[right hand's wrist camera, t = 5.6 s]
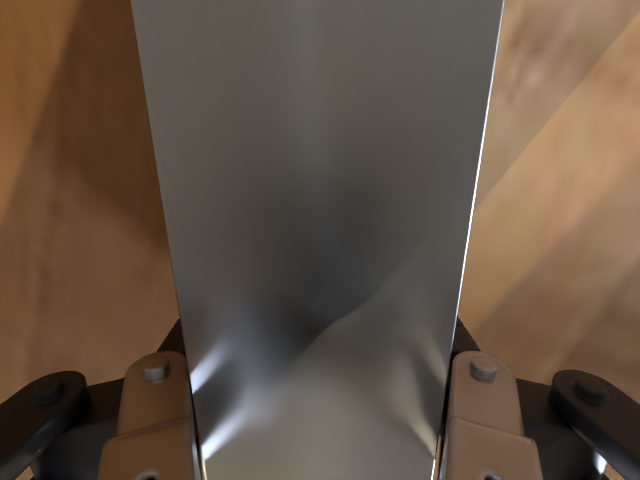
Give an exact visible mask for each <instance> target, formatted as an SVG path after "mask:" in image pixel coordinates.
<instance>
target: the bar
mask: <svg viewBox="0 0 640 480" xmlns="http://www.w3.org/2000/svg"><path fill="white" fill-rule="evenodd" d="M504 1H505V0H130V4H131V10H132V16H133V23H134V29H135V36H136V42H137V48H138V55H139V61H140V67H141V74H142V80H143V86H144V93H145V99H146V105H147V112H148V118H149V124H150V131H151V137H152V143H153V150H154V156H155V162H156V169H157V175H158V181H159V188H160V194H161V200H162V207H163V213H164V219H165V226H166V232H167V239H168V245H169V251H170V258H171V264H172V270H173V277H174V283H175V289H176V296H177V302H178V308H179V315H180V321H181V327H182V334H183V340H184V346H185V353H186V359H187V365H188V372H189V378H190V384H191V391H192V397H193V403H194V410H195V416H196V422H197V429H198V435H199V442H200V448H201V454H202V461H203V467H204V473H205V480H432V477H433V471H434V464H435V458H436V451H437V444H438V438H439V431H440V424H441V418H442V411H443V405H444V398H445V391H446V385H447V378H448V372H449V365H450V358H451V352H452V345H453V338H454V332H455V325H456V319H457V312H458V305H459V299H460V292H461V285H462V279H463V272H464V266H465V259H466V252H467V246H468V239H469V232H470V226H471V219H472V213H473V206H474V199H475V193H476V186H477V179H478V173H479V166H480V160H481V153H482V146H483V140H484V133H485V126H486V120H487V113H488V107H489V100H490V93H491V87H492V80H493V73H494V67H495V60H496V54H497V47H498V40H499V34H500V27H501V20H502V14H503V7H504Z"/></svg>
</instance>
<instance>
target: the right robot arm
mask: <svg viewBox="0 0 640 480" xmlns="http://www.w3.org/2000/svg"><path fill="white" fill-rule="evenodd" d="M439 433H440V436H441V441H440V448H439V458H438V468H437V478H436V480H610V479H609V478H608V477H607V476H606V475H605V474H604V473H603V472H604V469H605V467H606V464H607V463H609V464H610V465H611V466H612V467H613V468H614V469H615V470H616V471H617V472H618V473H619V474H620V475H621V476H622V477H623V478H624V479H625V480H640V405H639V404H638V403H637V402H635V401H634V400H633V399H631V398H630V397H629V396H627V395H626V394H625V393H623V392H622V391H621V390H619V389H618V388H617V387H615V386H614V385H612V384H611V383H609V382H607V381H606V380H604V379H602V378H600V377H598V376H595V375H593V374H590V373H586V372H582V371H577V370H562V371H559V372H557V373H556V374H555V375H554V377H553V380H552V384H551V386H549V385H544V384H540V383H535V382H531V381H526V380H522V379H518V378H516V377H515V374H514V372H513V370H512V369H511V367H510V366H509V365H508V364H507V363H505V362H504V361H503V360H501V359H499V358H498V357H495V356H493V355H491V354H488V353H484V352H481V351H480V349H479V348H478V346H477V345H476V343H475V342H474V340H473V339H472V337H471V336H470V334H469V333H468V331H467V330H466V328H465V327H463V323H462V322H461V320H460V319H458V316H457V319H456V325H455V332H454V338H453V345H452V352H451V358H450V365H449V372H448V378H447V385H446V391H445V398H444V405H443V411H442V418H441V424H440V431H439ZM29 465H30V467H31V470H32V472H33V475H34V476H33V477H32V478H31V479H30V480H204V478H203V468H202V458H201V448H200V442H199V435H198V429H197V422H196V416H195V410H194V403H193V397H192V391H191V384H190V378H189V372H188V365H187V359H186V353H185V346H184V340H183V334H182V327H181V321H180V319H178V320H177V322H176V323H175V325H174V327H173V328H172V329H171V331H170V332H169V334H168V335H167V337H166V338H165V340H164V341H163V343H162V344H161V346H160V347H159V349H158V350H157V352H156V353H152V354H149V355H147V356H145V357H142V358H141V359H139V360H137V361H136V362H135V363H133V364H132V365H131V366H130V367H129V369H128V370H127V372H126V374H125V377H124V378H121V379H118V380H114V381H110V382H105V383H100V384H96V385H91V386H87V382H86V379H85V377H84V375H83V374H81V373H79V372H76V371H62V372H57V373H52V374H49V375H46V376H44V377H41V378H39V379H37V380H35V381H33V382H31V383H30V384H28V385H26V386H25V387H24V388H22V389H21V390H19V391H18V392H17V393H15V394H14V395H13V396H11V397H10V398H9V399H7V400H6V401H5V402H3V403H2V404H1V405H0V480H15V479H16V478H17V477H18V476H19V475H20V474H21V473H22V472H23V471H24V470H25V469H26V468H27V467H28V466H29Z"/></svg>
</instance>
